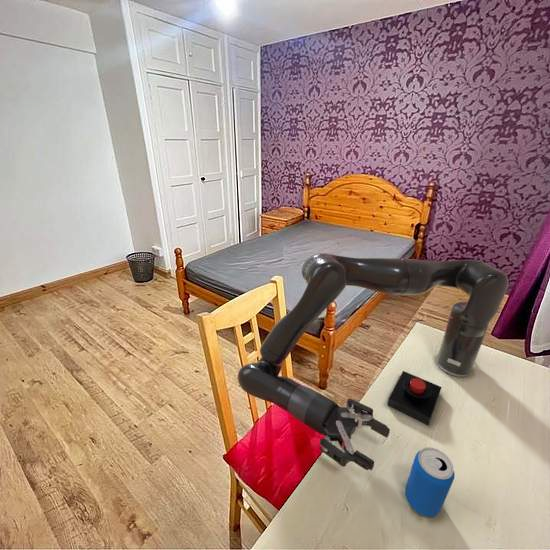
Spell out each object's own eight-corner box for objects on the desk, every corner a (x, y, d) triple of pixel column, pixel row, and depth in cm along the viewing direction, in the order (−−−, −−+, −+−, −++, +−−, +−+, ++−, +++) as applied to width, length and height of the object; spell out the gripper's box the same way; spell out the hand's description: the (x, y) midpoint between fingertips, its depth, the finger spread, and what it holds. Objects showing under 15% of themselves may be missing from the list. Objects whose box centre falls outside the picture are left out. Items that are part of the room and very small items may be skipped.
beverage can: (444, 523, 56) (461, 485, 51) (407, 515, 57) (420, 477, 52) (435, 486, 62) (450, 448, 56) (401, 479, 63) (412, 442, 57)
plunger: (407, 389, 79) (408, 384, 78) (411, 381, 81) (412, 376, 80) (422, 396, 77) (423, 391, 76) (425, 387, 79) (427, 382, 78)
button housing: (387, 405, 79) (389, 393, 77) (401, 377, 88) (404, 365, 86) (428, 426, 74) (432, 413, 72) (439, 394, 82) (443, 381, 80)
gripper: (294, 418, 63) (370, 466, 54) (327, 377, 73) (396, 411, 64) (294, 442, 66) (365, 490, 58) (325, 399, 77) (390, 435, 68)
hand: (381, 449), depth 61 cm, fingers open, 8 cm apart
